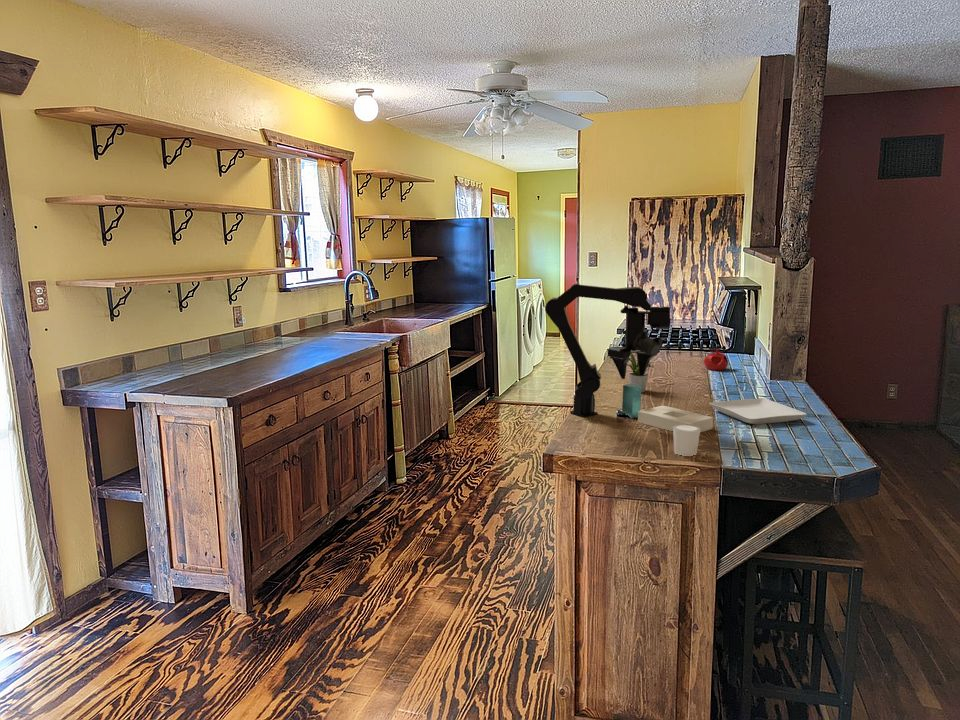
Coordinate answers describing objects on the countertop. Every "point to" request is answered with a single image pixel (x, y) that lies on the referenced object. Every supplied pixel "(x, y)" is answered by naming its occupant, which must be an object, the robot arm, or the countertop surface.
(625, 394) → the teal rectangular block
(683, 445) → the white tapered cup
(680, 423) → the beige square hole board
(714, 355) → the pomegranate
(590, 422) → the countertop surface
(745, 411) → the salad plate
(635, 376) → the house plant
